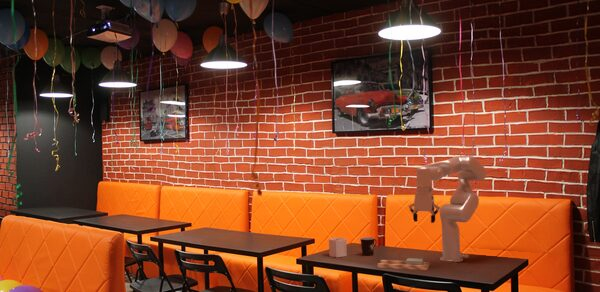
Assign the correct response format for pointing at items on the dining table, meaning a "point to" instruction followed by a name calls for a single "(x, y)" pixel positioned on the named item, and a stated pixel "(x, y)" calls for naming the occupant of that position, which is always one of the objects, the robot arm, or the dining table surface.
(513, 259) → the dining table surface
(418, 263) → the grayish brown block
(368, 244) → the coffee mug
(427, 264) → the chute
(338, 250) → the white box
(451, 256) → the robot arm
